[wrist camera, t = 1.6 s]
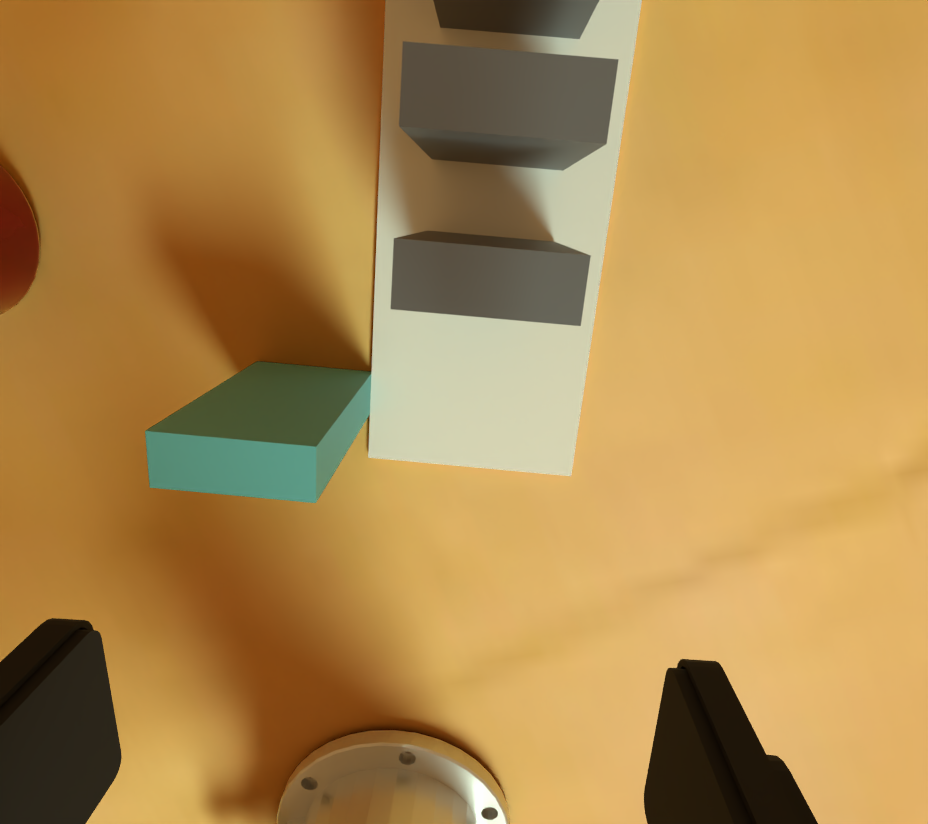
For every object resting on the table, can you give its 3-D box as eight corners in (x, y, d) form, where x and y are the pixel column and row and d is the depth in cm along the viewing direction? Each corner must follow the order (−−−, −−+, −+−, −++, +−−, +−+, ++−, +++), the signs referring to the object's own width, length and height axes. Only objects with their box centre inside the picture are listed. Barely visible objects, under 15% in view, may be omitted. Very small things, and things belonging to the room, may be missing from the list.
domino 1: (371, 411, 27) (315, 503, 18) (257, 401, 27) (149, 487, 18) (373, 371, 26) (316, 446, 18) (257, 361, 26) (145, 430, 18)
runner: (570, 473, 27) (571, 476, 27) (369, 454, 27) (368, 457, 27) (707, -457, 18) (711, -468, 18) (405, -480, 18) (403, -491, 18)
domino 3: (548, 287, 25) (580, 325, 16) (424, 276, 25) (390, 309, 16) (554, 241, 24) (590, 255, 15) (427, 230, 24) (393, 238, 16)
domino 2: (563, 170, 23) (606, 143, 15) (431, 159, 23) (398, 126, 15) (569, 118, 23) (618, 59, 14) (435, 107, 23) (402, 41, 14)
